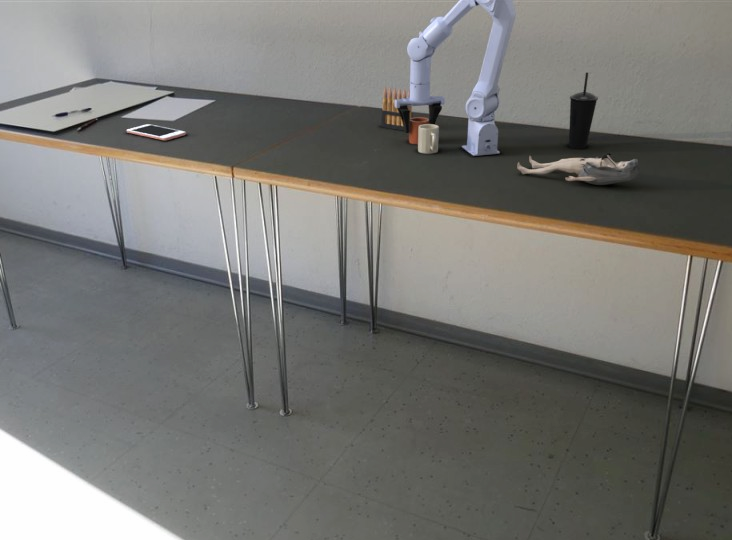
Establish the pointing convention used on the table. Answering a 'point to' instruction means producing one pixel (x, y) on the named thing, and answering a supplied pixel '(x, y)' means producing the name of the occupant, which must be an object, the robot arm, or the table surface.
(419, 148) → the cream cup
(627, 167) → the anime figure
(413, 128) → the terracotta cup
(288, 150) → the table surface
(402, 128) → the ammunition clip
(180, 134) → the cell phone
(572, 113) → the drinking cup
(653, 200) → the table surface
